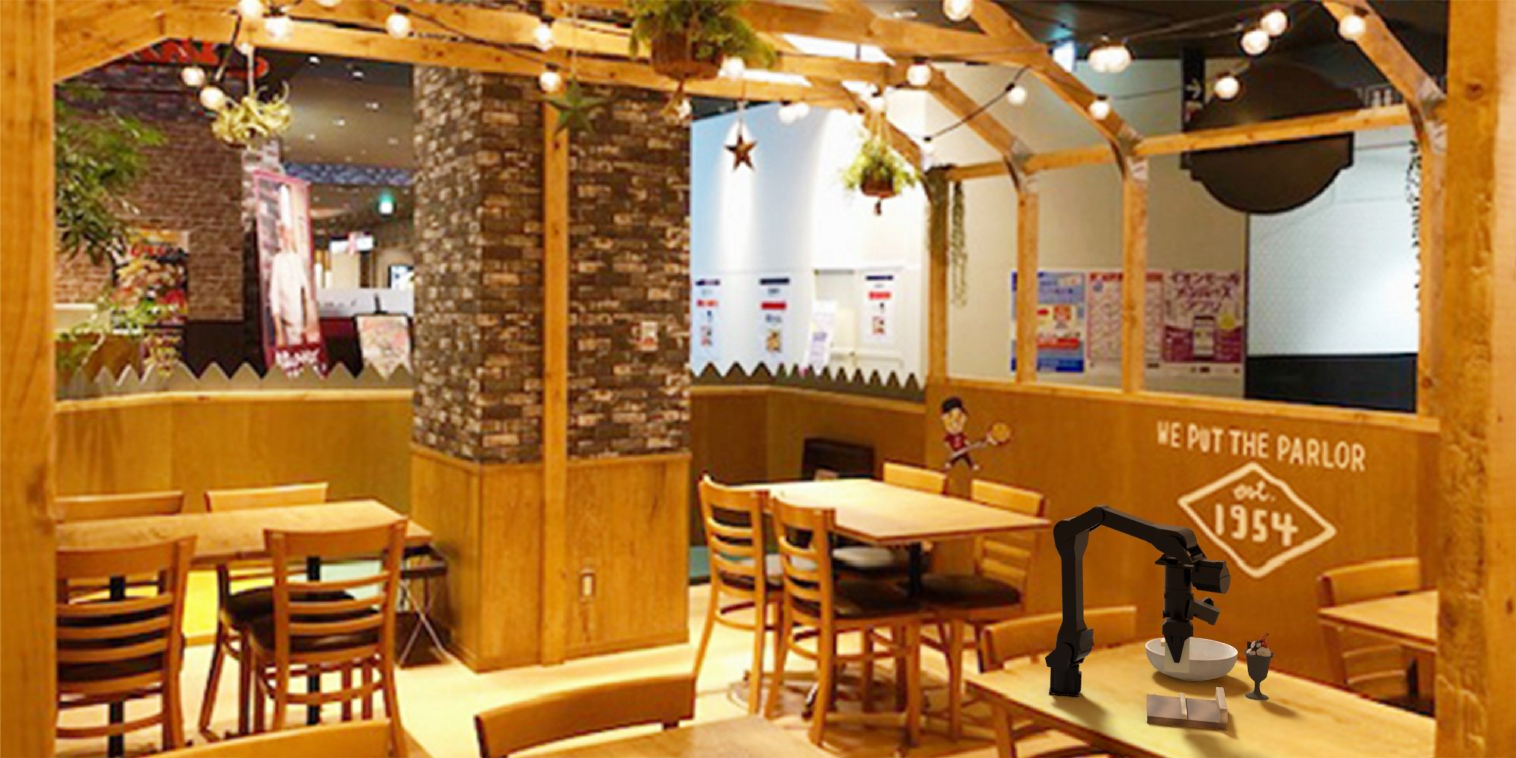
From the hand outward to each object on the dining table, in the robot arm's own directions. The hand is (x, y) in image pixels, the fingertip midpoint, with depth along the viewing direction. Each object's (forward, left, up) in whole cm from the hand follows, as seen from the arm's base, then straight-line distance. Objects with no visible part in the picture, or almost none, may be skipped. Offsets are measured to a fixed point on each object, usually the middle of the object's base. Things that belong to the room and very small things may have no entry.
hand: (1176, 659), depth 293 cm
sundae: (+18, +21, -13) cm, 31 cm away
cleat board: (+2, +2, -13) cm, 13 cm away
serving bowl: (+4, +34, -13) cm, 37 cm away
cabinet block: (0, 0, -2) cm, 2 cm away
